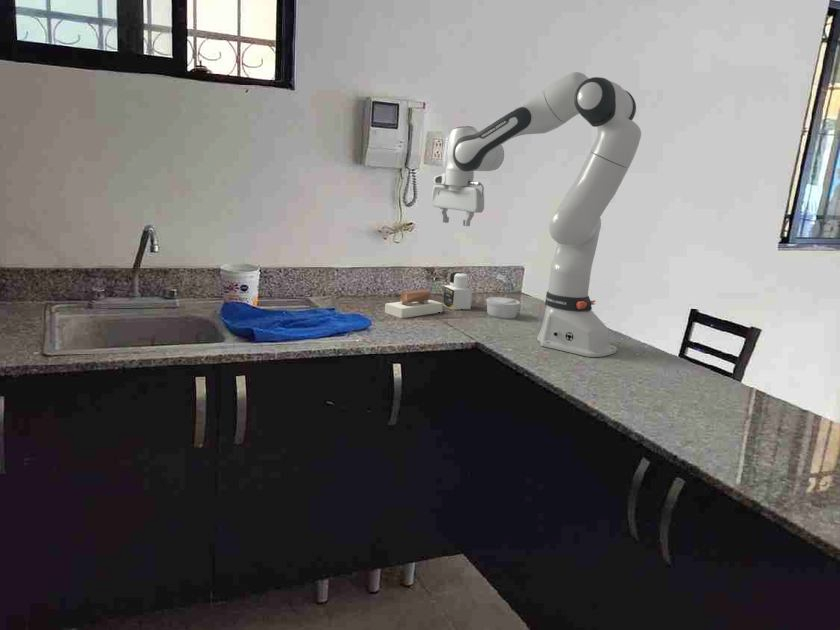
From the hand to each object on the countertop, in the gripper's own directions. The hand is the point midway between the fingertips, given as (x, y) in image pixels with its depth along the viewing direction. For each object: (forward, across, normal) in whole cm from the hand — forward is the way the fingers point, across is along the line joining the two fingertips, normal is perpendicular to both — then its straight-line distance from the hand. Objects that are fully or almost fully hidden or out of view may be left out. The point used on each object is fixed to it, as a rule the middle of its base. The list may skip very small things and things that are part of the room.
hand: (455, 224), depth 212 cm
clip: (+29, +6, +10) cm, 31 cm away
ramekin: (+29, -11, -14) cm, 34 cm away
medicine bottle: (+29, +5, -9) cm, 31 cm away
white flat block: (+29, +6, +10) cm, 31 cm away
